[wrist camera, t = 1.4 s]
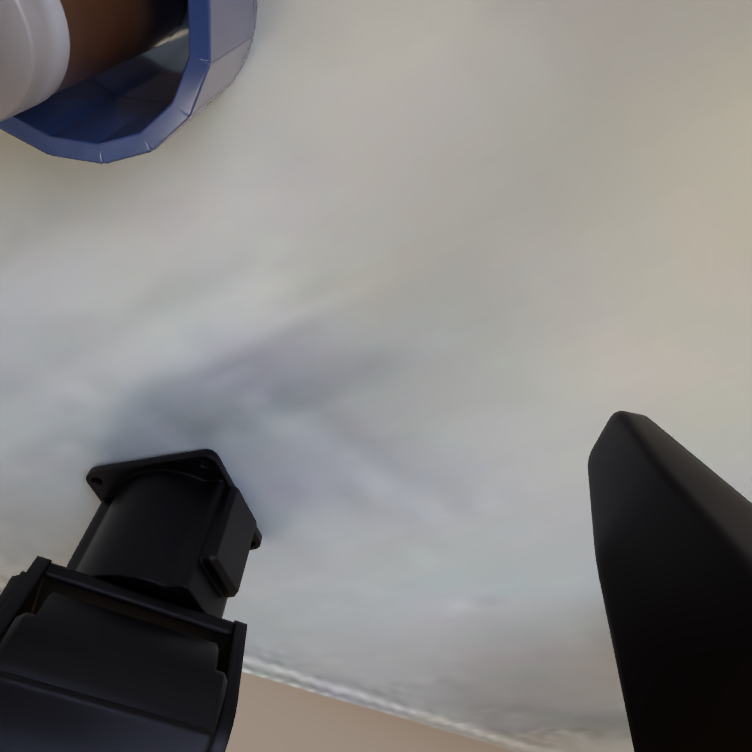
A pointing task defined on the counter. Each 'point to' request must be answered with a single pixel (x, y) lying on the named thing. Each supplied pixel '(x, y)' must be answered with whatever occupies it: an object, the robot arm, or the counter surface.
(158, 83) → the holder cup
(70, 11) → the pepper mill
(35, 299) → the counter surface
